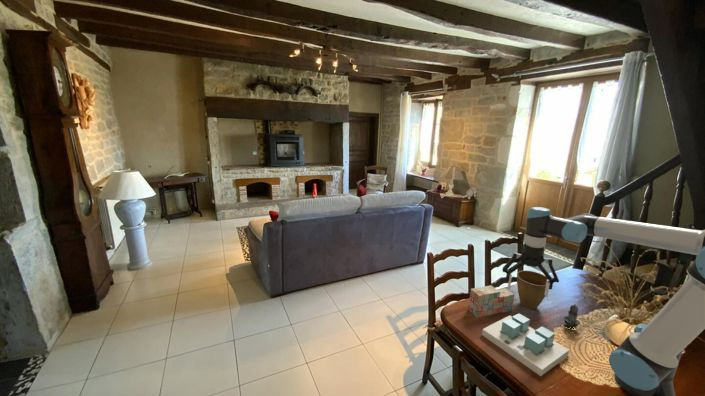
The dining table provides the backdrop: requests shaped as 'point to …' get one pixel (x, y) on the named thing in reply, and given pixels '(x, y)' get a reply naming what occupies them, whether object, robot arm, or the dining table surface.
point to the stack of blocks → (490, 301)
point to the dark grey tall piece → (571, 317)
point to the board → (522, 354)
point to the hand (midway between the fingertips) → (526, 291)
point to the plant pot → (531, 288)
